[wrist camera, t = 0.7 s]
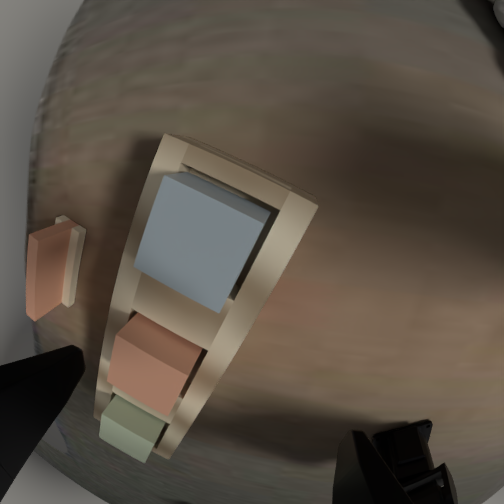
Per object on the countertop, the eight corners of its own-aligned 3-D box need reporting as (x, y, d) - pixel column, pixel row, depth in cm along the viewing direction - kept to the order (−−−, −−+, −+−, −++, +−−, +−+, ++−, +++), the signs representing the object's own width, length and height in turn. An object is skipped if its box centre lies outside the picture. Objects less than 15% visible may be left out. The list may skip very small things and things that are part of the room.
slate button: (232, 288, 17) (219, 313, 14) (158, 249, 17) (133, 266, 14) (270, 212, 16) (264, 223, 13) (188, 171, 16) (164, 175, 13)
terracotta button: (181, 389, 21) (167, 416, 18) (125, 358, 21) (106, 381, 18) (202, 347, 19) (188, 375, 16) (138, 311, 19) (116, 334, 16)
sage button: (155, 442, 24) (144, 463, 21) (112, 417, 24) (98, 437, 21) (166, 420, 22) (154, 444, 19) (117, 392, 22) (101, 413, 19)
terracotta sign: (74, 303, 24) (41, 327, 20) (53, 287, 25) (20, 308, 20) (86, 229, 22) (45, 246, 17) (63, 215, 22) (22, 229, 17)
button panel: (180, 433, 28) (168, 459, 24) (110, 394, 28) (93, 416, 24) (315, 196, 18) (318, 205, 14) (190, 137, 18) (164, 133, 15)
